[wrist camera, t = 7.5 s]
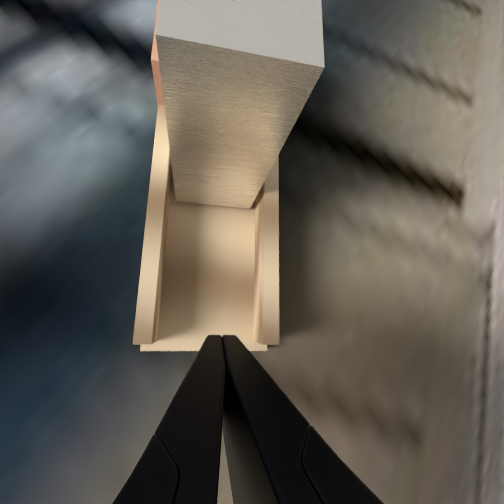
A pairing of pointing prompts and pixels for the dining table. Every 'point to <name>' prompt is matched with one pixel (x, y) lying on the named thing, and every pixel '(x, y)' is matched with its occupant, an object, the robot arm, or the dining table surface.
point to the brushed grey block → (234, 89)
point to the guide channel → (206, 265)
